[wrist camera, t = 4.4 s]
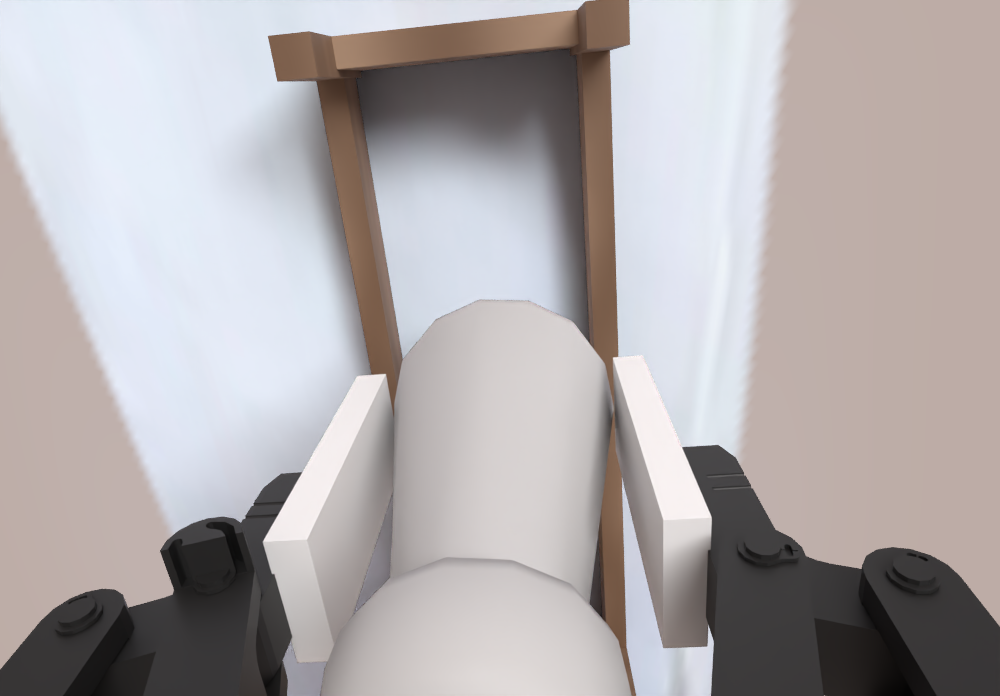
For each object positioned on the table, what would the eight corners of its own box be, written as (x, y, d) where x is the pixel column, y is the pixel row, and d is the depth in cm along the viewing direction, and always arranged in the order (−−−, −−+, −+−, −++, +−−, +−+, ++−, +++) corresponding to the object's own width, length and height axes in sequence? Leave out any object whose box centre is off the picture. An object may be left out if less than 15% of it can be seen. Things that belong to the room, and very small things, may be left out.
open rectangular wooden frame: (601, 16, 20) (628, -4, 15) (620, 635, 29) (641, 740, 24) (324, 45, 20) (267, 35, 15) (432, 646, 29) (417, 751, 25)
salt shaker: (638, 329, 19) (830, 759, 7) (547, 477, 21) (574, 1005, 9) (457, 241, 18) (321, 555, 6) (381, 403, 20) (168, 875, 8)
